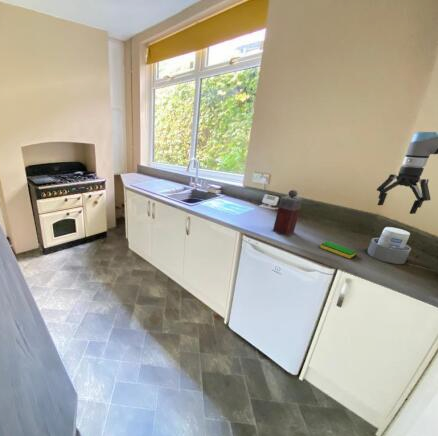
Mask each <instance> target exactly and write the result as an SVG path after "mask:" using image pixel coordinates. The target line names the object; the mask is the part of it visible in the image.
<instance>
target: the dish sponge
mask: <svg viewBox="0 0 438 436" xmlns="http://www.w3.org/2000/svg"><path fill="white" fill-rule="evenodd" d="M320 249H323V250H326V251H327V252H331V253H334V254H337V255H338V256H341V257H344V258H347V259H351V258H353V257H355V256H356V254H357V250H353V249H351V248H348V247H345V246H343V245H339V244H337V243H334V242H331V241H328V240H326V241H324V242H322V243H321V244H320Z"/></svg>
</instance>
